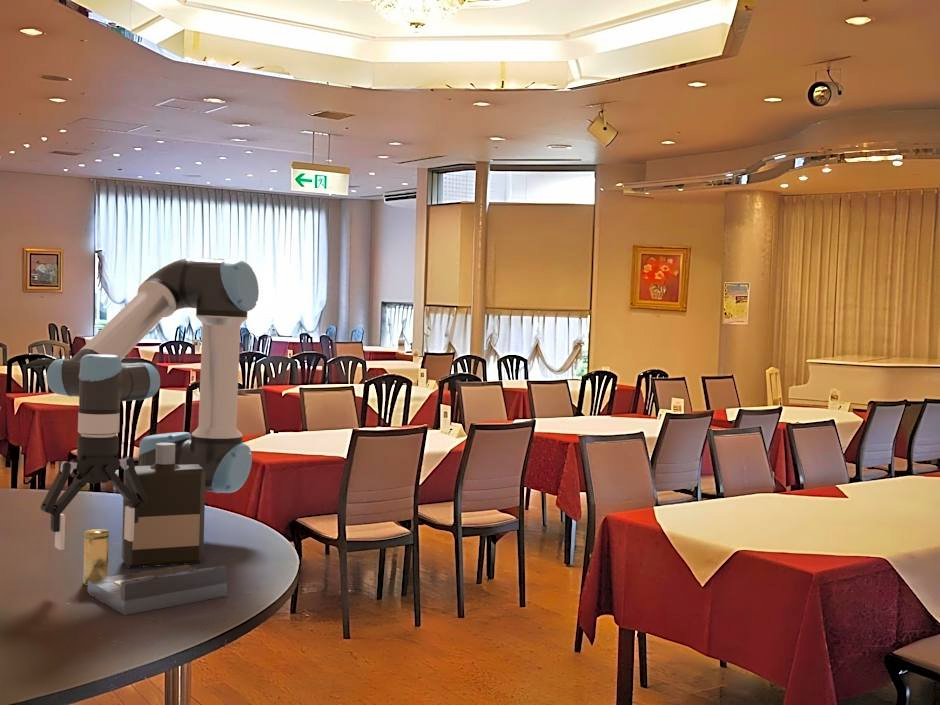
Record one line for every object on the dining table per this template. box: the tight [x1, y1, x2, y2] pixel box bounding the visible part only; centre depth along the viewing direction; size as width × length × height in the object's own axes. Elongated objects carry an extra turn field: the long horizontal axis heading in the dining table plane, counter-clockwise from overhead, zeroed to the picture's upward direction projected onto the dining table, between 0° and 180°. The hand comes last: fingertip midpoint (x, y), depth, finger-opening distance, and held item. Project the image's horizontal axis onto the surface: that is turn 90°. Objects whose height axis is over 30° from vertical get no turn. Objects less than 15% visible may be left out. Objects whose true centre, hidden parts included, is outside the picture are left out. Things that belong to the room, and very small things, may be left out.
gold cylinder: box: [82, 528, 110, 585], centre depth 196 cm, size 4×4×10 cm
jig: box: [87, 564, 228, 616], centre depth 190 cm, size 20×16×6 cm
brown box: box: [121, 443, 206, 569], centre depth 213 cm, size 8×16×25 cm, turn 115°
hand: (94, 544), depth 196 cm, fingers open, 13 cm apart
